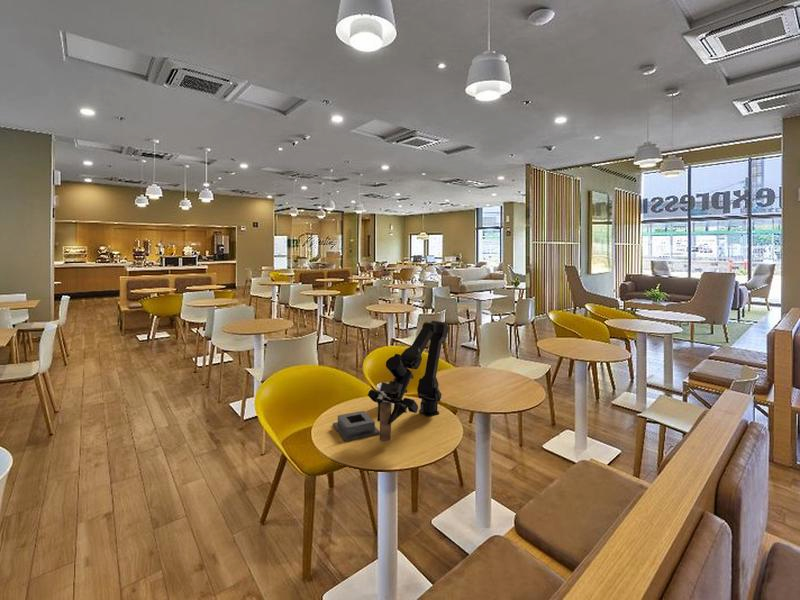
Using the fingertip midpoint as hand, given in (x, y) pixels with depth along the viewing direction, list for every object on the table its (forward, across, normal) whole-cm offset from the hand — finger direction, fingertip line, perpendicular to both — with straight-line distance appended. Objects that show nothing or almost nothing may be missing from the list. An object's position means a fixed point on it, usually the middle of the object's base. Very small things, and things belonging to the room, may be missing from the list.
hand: (383, 422), depth 144 cm
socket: (+3, -16, +11) cm, 20 cm away
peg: (+4, 0, +6) cm, 7 cm away
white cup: (-14, -18, +28) cm, 36 cm away
